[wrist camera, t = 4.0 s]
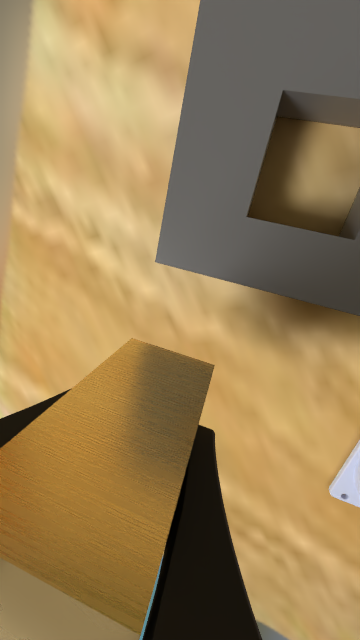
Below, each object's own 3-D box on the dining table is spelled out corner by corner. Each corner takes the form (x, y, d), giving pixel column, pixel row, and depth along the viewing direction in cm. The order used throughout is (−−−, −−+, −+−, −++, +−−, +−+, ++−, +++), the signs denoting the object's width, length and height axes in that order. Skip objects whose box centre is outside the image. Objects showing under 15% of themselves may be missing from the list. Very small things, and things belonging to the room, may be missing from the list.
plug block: (214, 365, 11) (140, 635, 3) (193, 432, 12) (109, 726, 5) (132, 338, 11) (-78, 513, 4) (121, 405, 13) (-49, 625, 6)
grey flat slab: (542, 48, 10) (629, -8, 8) (390, 316, 14) (417, 331, 12) (212, 23, 12) (205, -26, 10) (168, 258, 17) (155, 262, 14)
